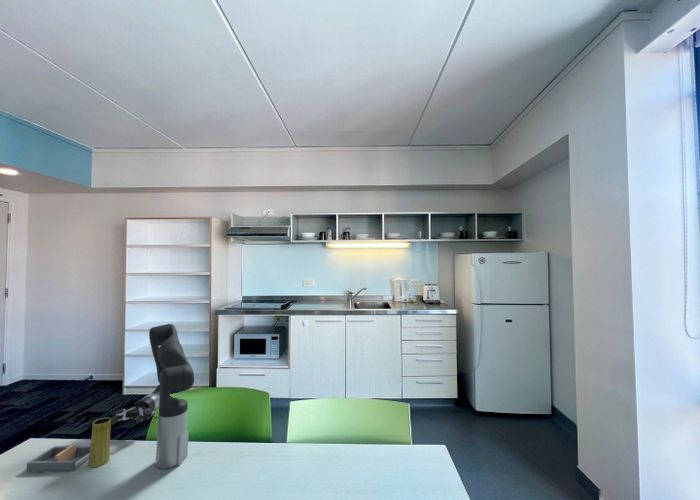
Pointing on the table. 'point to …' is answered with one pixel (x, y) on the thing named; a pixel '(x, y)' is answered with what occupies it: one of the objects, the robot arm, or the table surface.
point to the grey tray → (49, 464)
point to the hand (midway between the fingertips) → (122, 422)
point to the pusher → (66, 453)
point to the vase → (100, 442)
